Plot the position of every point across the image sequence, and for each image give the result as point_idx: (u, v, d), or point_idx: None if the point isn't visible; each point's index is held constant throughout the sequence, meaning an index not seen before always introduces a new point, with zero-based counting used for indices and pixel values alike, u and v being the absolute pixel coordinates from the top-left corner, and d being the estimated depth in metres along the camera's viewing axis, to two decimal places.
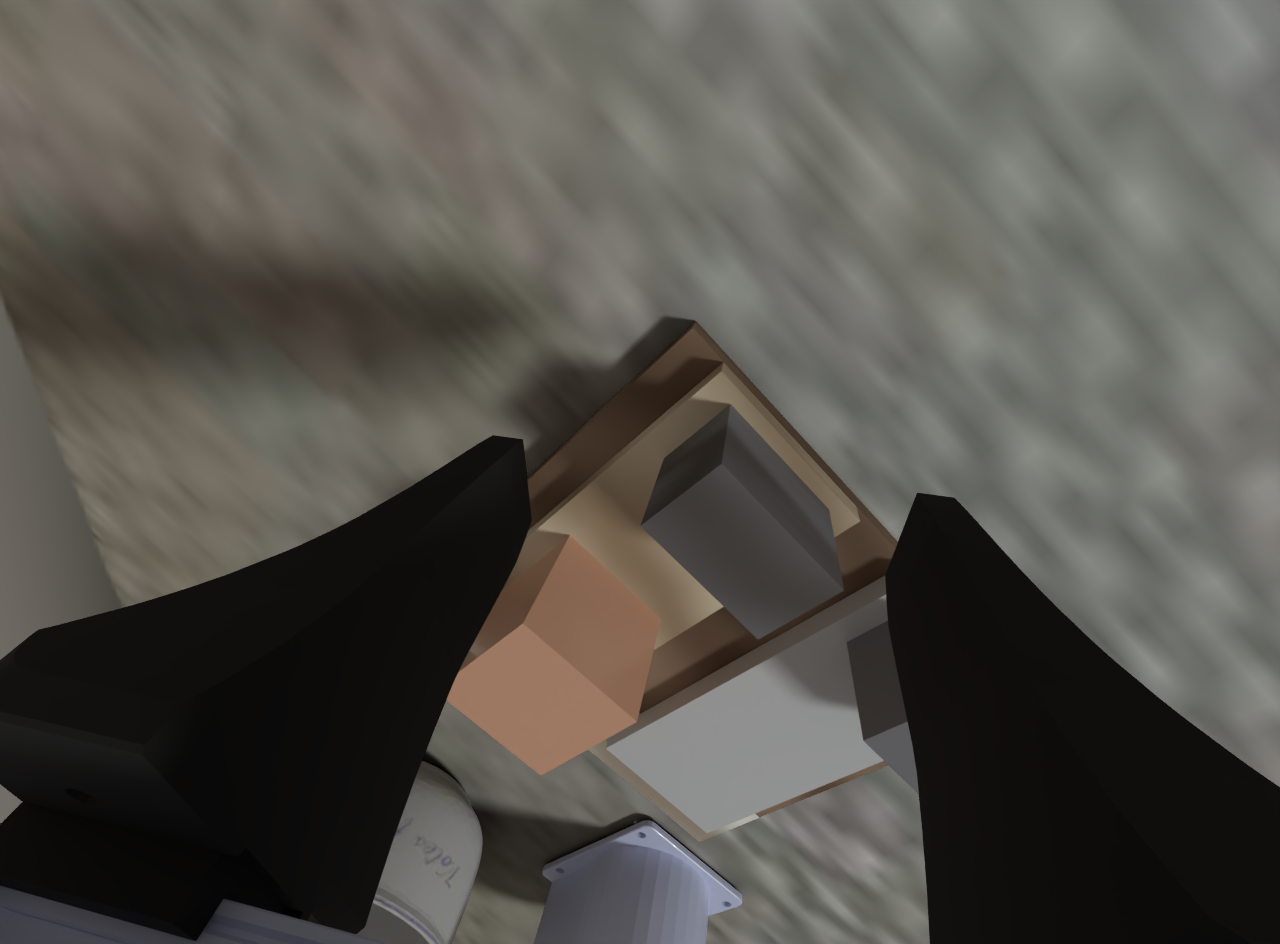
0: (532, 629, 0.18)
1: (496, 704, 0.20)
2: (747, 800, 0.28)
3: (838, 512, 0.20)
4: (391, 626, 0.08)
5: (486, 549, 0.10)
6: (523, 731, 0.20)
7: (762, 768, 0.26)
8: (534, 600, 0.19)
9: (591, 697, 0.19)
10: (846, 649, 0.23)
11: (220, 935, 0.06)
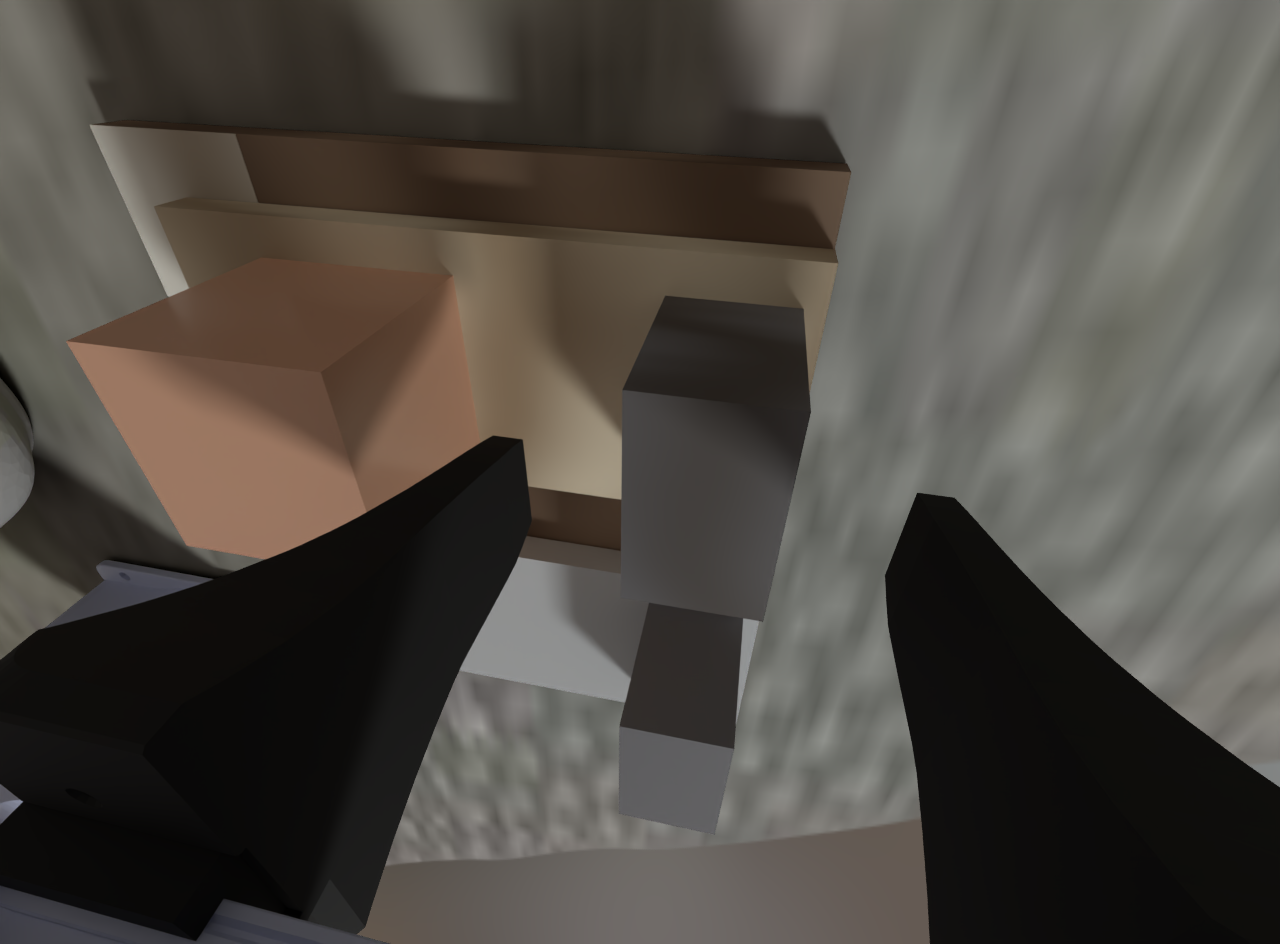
0: (329, 390, 0.10)
1: (178, 433, 0.11)
2: None
3: None
4: (391, 626, 0.08)
5: (486, 549, 0.10)
6: (200, 488, 0.12)
7: None
8: (356, 343, 0.11)
9: None
10: (642, 605, 0.19)
11: (220, 935, 0.06)
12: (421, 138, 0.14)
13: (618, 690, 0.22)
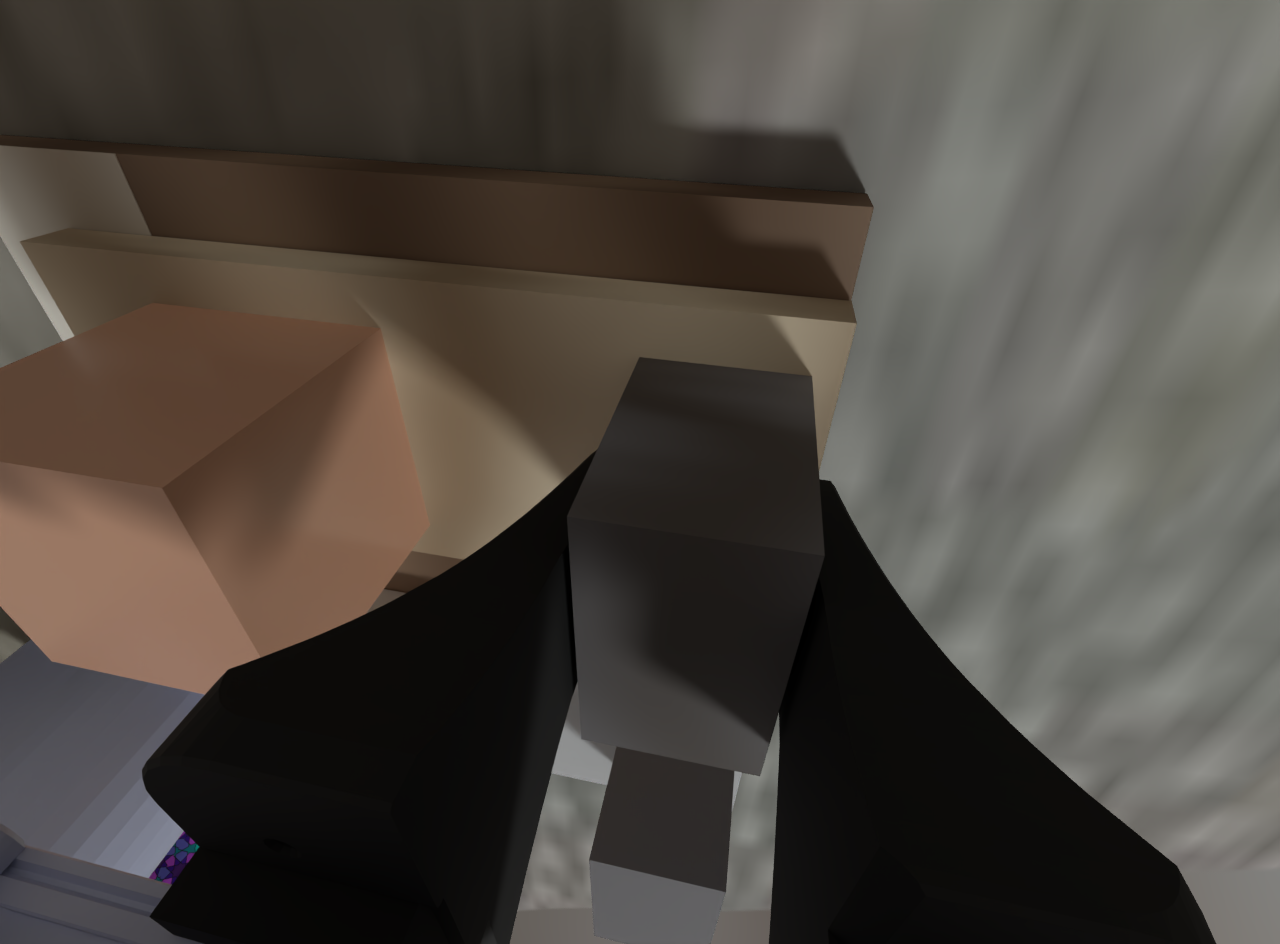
0: (179, 508, 0.08)
1: (7, 545, 0.09)
2: None
3: None
4: (539, 654, 0.07)
5: None
6: (50, 605, 0.10)
7: None
8: (226, 437, 0.08)
9: (233, 651, 0.09)
10: None
11: None
12: (343, 159, 0.12)
13: (598, 773, 0.20)
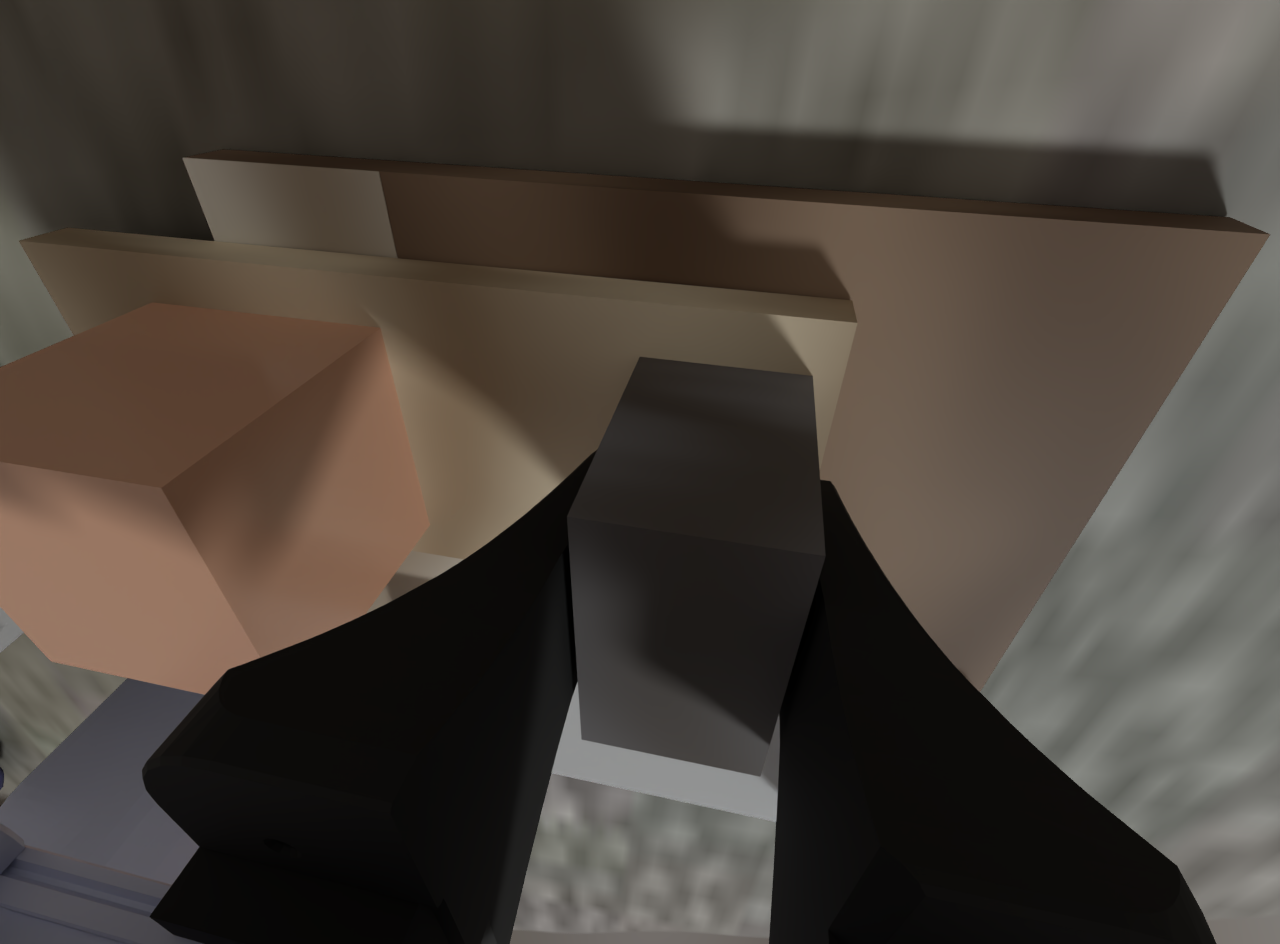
0: (176, 508, 0.08)
1: (6, 545, 0.09)
2: None
3: None
4: (539, 654, 0.07)
5: None
6: (49, 605, 0.10)
7: (576, 745, 0.19)
8: (225, 437, 0.08)
9: (233, 651, 0.09)
10: None
11: None
12: (621, 177, 0.11)
13: (765, 809, 0.19)
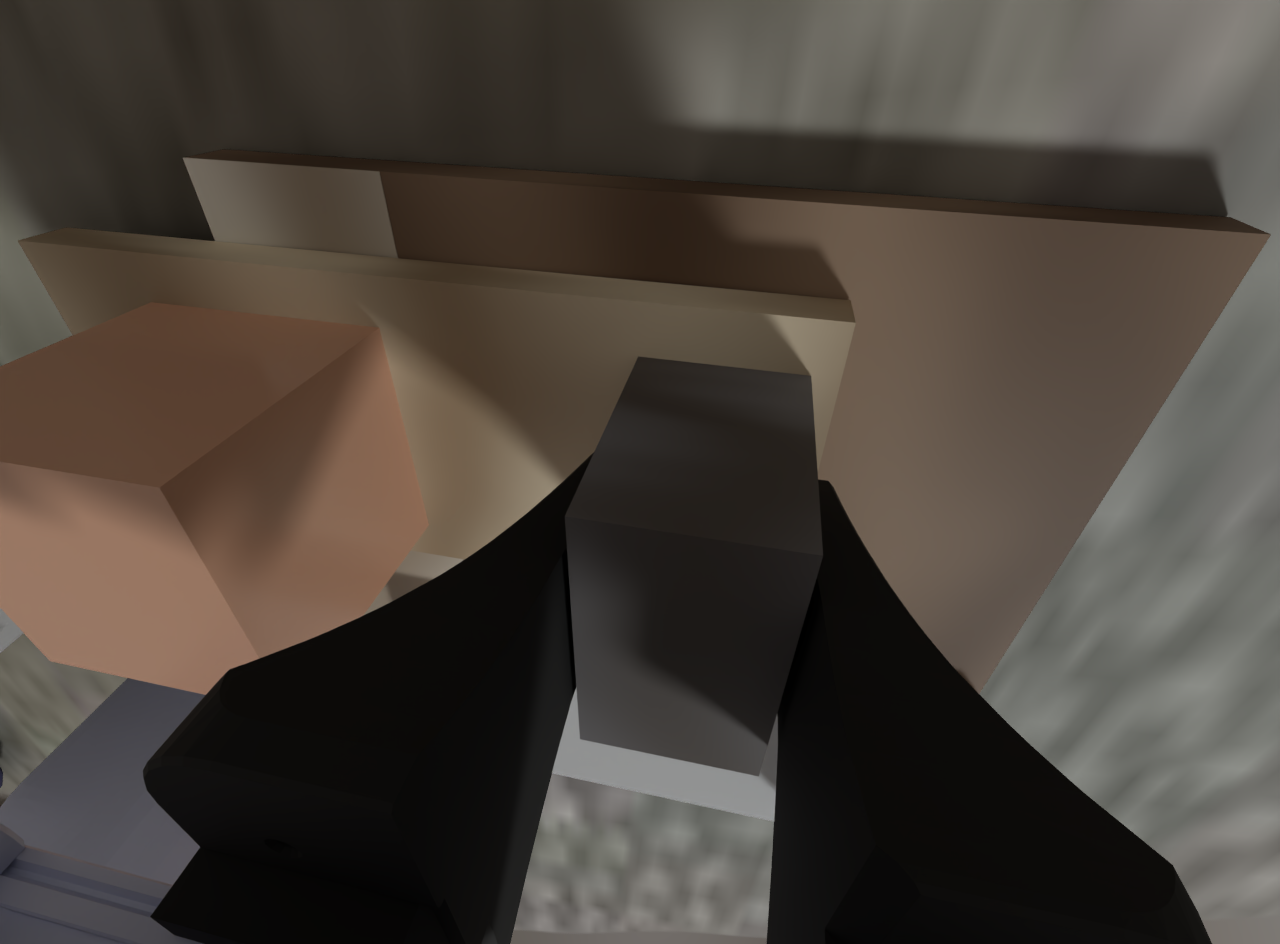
0: (175, 508, 0.08)
1: (5, 545, 0.09)
2: None
3: None
4: (540, 654, 0.07)
5: None
6: (48, 605, 0.10)
7: (576, 745, 0.19)
8: (224, 436, 0.08)
9: (232, 651, 0.09)
10: None
11: None
12: (621, 177, 0.11)
13: (765, 809, 0.19)
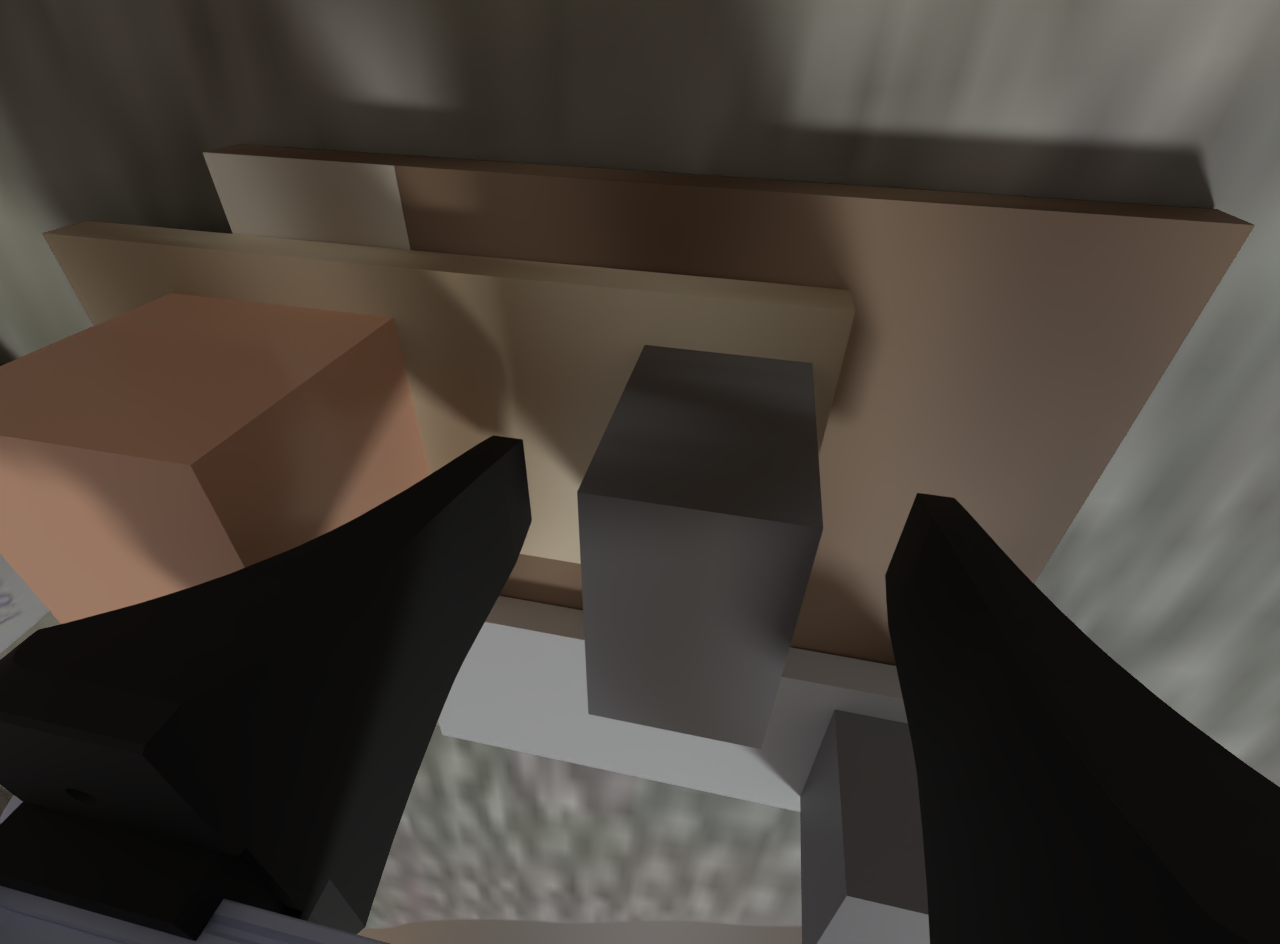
0: (204, 485, 0.08)
1: (37, 524, 0.09)
2: (527, 740, 0.20)
3: None
4: (391, 626, 0.08)
5: (486, 549, 0.10)
6: (76, 583, 0.10)
7: (581, 731, 0.19)
8: (249, 418, 0.09)
9: None
10: (824, 713, 0.16)
11: (219, 935, 0.06)
12: (628, 171, 0.11)
13: (767, 794, 0.19)
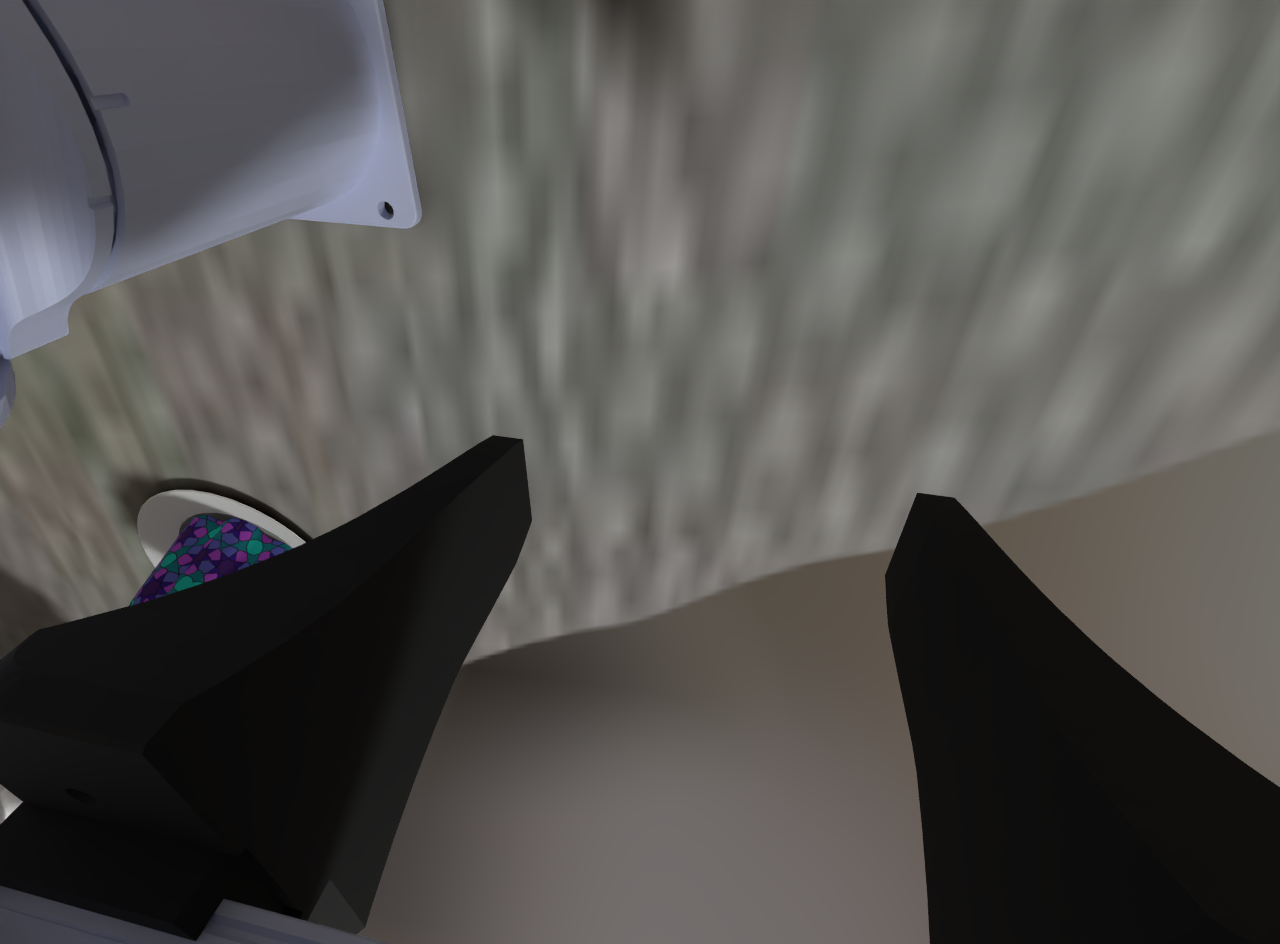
0: None
1: None
2: None
3: None
4: (391, 626, 0.08)
5: (486, 549, 0.10)
6: None
7: None
8: None
9: None
10: None
11: (218, 936, 0.06)
12: None
13: None
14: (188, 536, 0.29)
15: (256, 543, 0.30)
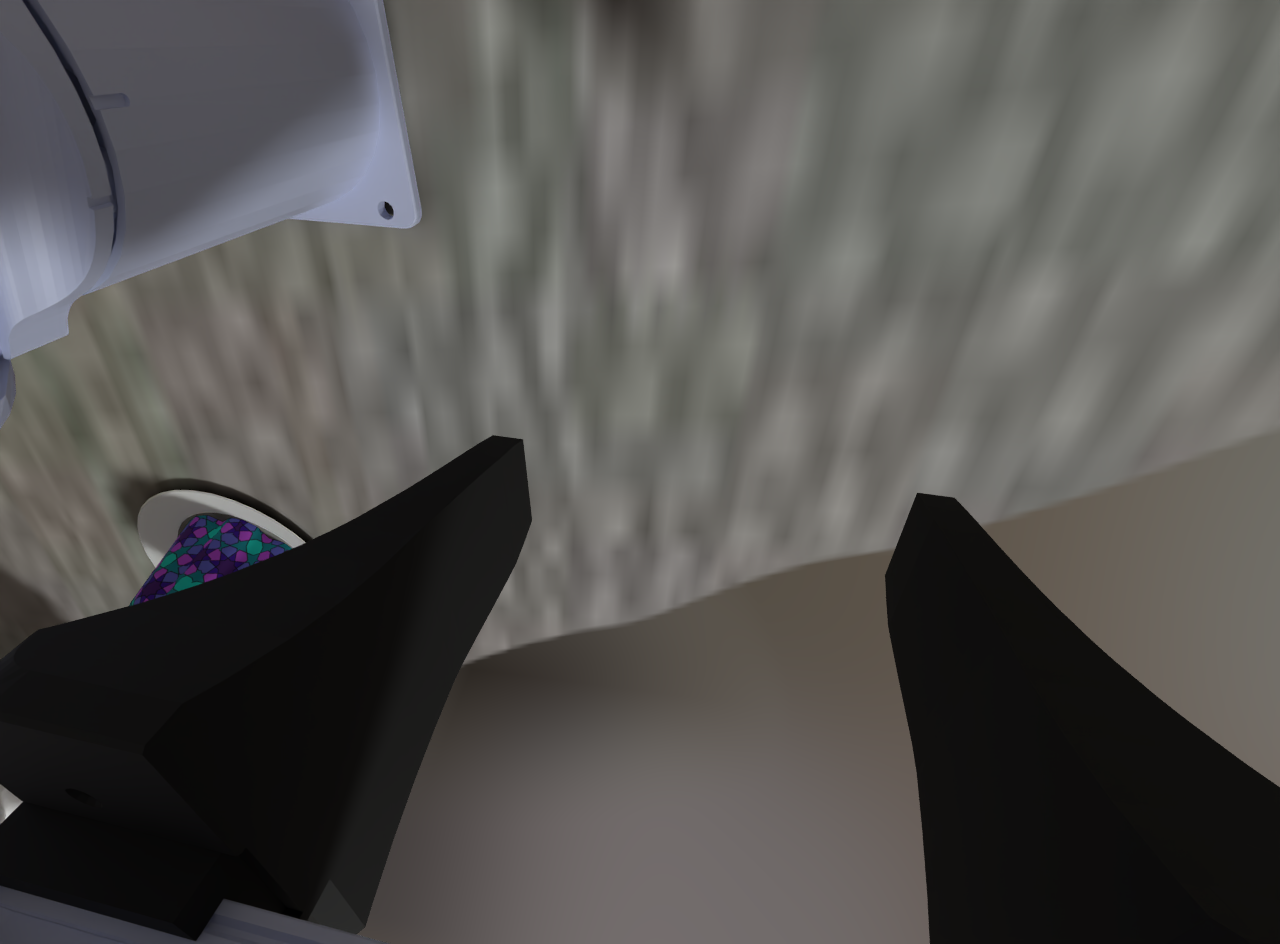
0: None
1: None
2: None
3: None
4: (391, 626, 0.08)
5: (486, 549, 0.10)
6: None
7: None
8: None
9: None
10: None
11: (218, 936, 0.06)
12: None
13: None
14: (188, 536, 0.29)
15: (256, 543, 0.30)
